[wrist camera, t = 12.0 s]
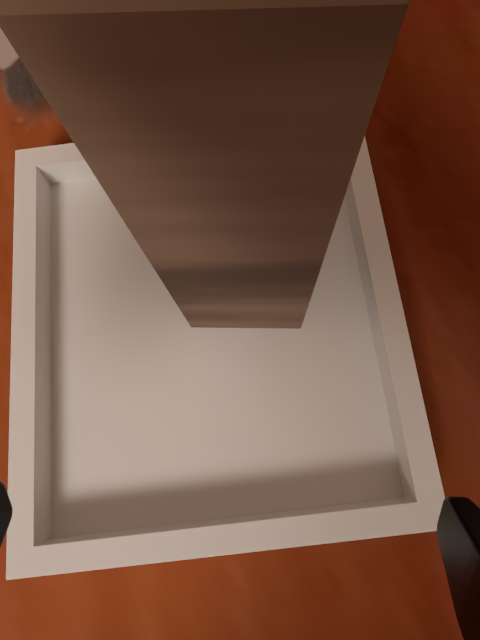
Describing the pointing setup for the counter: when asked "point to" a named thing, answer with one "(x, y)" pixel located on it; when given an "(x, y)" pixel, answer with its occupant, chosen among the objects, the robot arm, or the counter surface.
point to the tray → (200, 396)
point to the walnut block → (216, 131)
